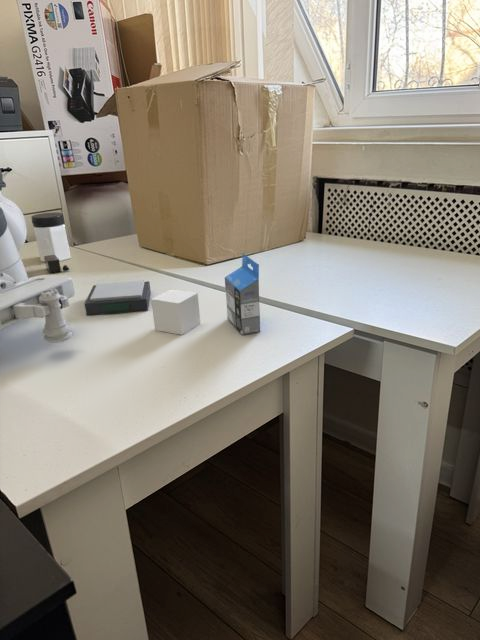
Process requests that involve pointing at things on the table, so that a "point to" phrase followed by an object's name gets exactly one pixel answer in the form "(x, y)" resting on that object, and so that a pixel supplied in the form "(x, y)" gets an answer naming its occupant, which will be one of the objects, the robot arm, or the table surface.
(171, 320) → the white cube
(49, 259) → the wireless earbuds
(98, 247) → the table surface
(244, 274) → the ink cartridge box
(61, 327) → the rook chess piece
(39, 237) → the jar
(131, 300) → the scale
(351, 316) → the table surface
